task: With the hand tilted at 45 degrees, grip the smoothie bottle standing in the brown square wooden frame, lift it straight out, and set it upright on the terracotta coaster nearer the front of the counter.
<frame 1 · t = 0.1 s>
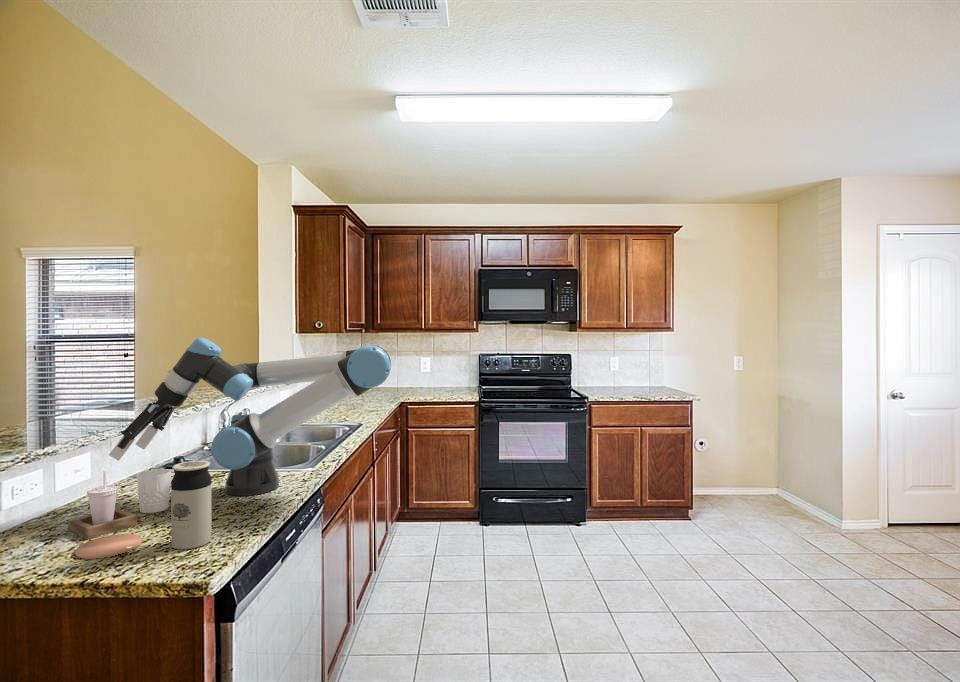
hand: (127, 451, 142), 15 cm above the countertop, tool tilted 35°, fingers open, 13 cm apart
brown square wooden frame: (103, 528, 127), on the countertop
travel mug: (191, 544, 118), on the countertop
white cup: (154, 510, 141), on the countertop
coaster: (109, 547, 115), on the countertop
smoothie: (103, 529, 127), resting in brown square wooden frame
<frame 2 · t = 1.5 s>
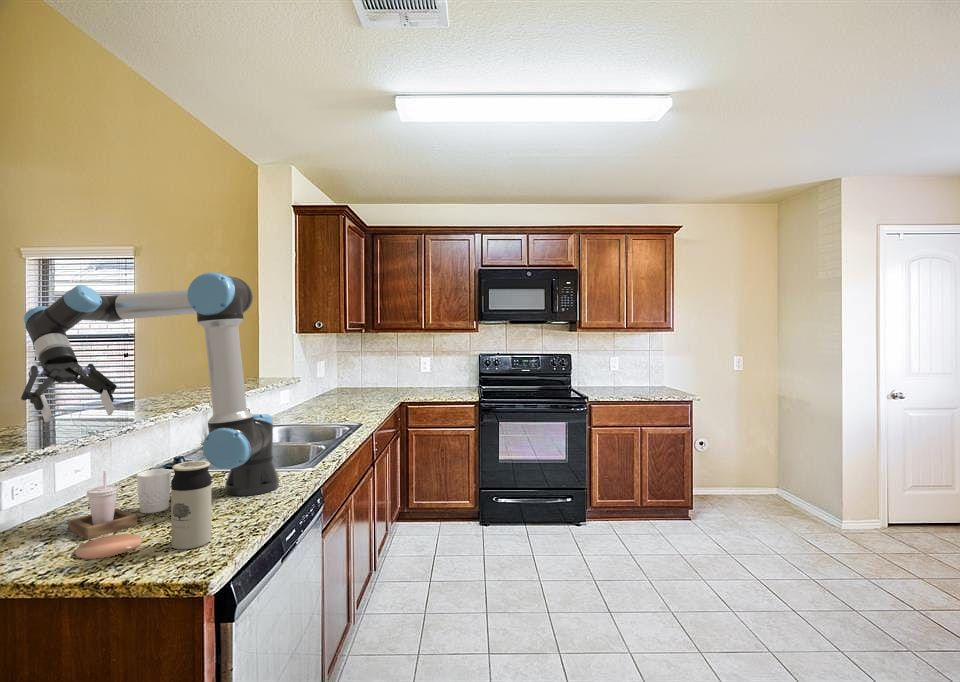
hand: (81, 415, 132), 27 cm above the countertop, tool tilted 45°, fingers open, 13 cm apart
nothing on the countertop moved.
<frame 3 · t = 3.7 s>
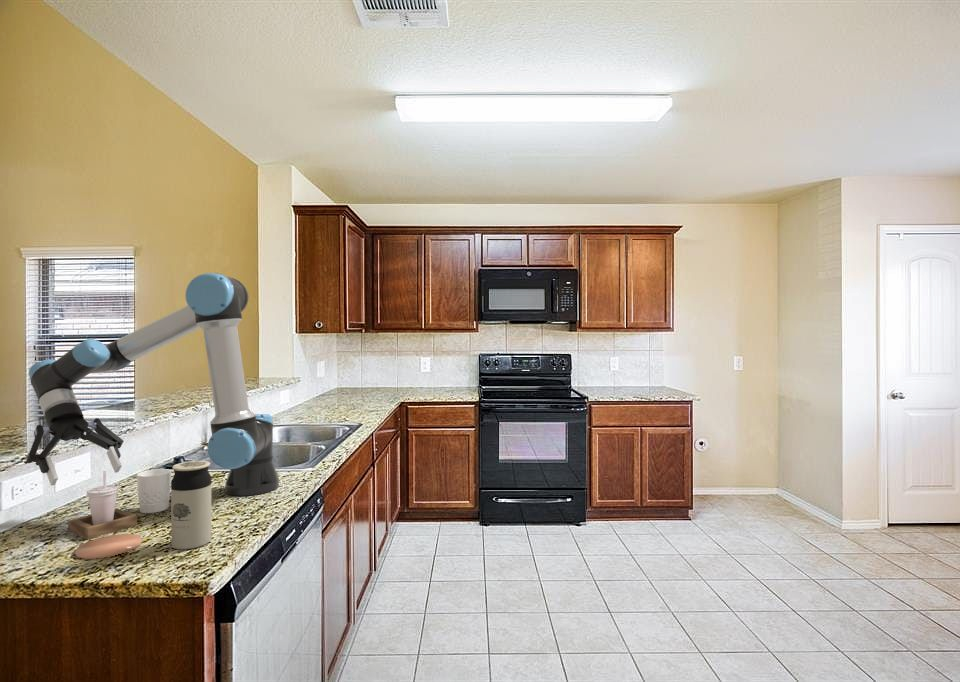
hand: (88, 475, 129), 12 cm above the countertop, tool tilted 45°, fingers open, 13 cm apart
nothing on the countertop moved.
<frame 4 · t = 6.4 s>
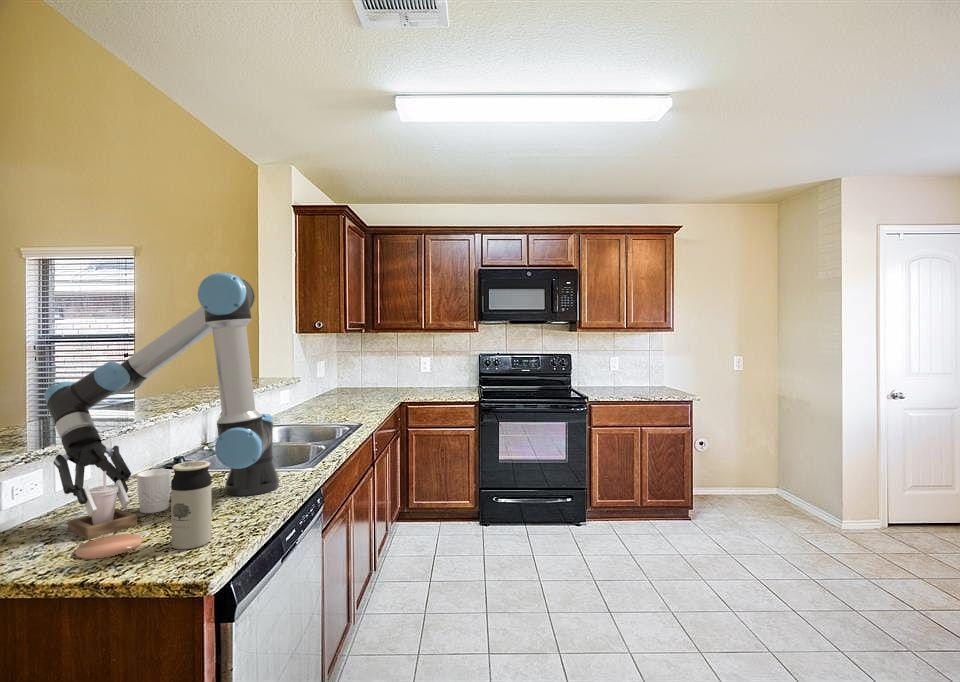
hand: (110, 508, 125), 5 cm above the countertop, tool tilted 45°, fingers closed on smoothie, 6 cm apart
smoothie: (103, 528, 127), resting in brown square wooden frame, touching gripper
everything else where it was.
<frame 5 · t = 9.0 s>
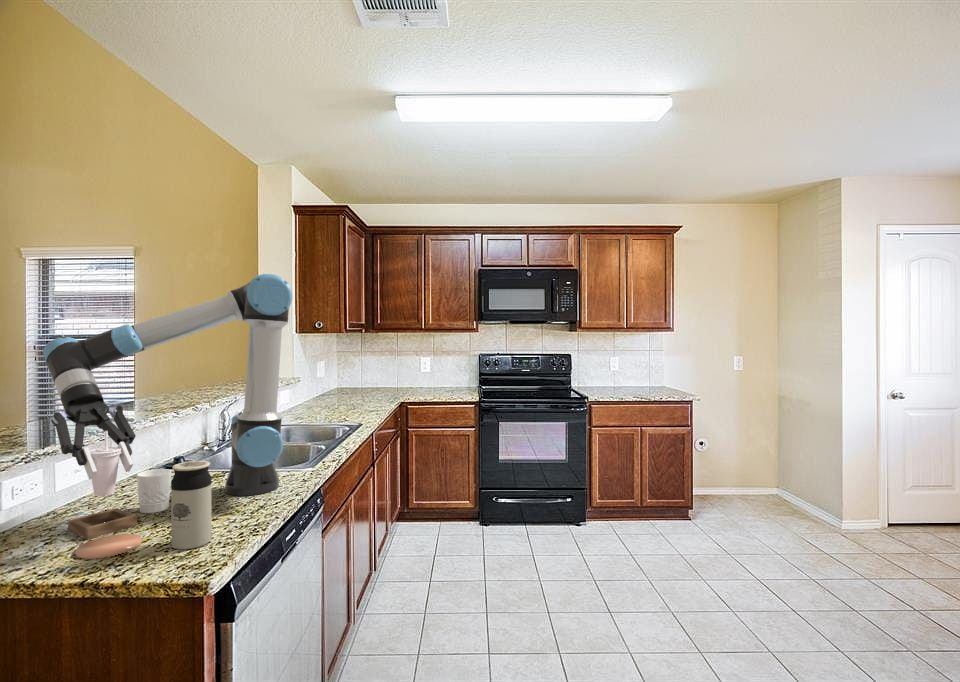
hand: (111, 471, 114), 17 cm above the countertop, tool tilted 45°, fingers closed on smoothie, 6 cm apart
smoothie: (104, 494, 116), point 12 cm above the countertop, touching gripper
everything else where it was.
when the fingers open (8 cm above the countertop, at t = 11.8 s): smoothie drops 1 cm, resting on coaster.
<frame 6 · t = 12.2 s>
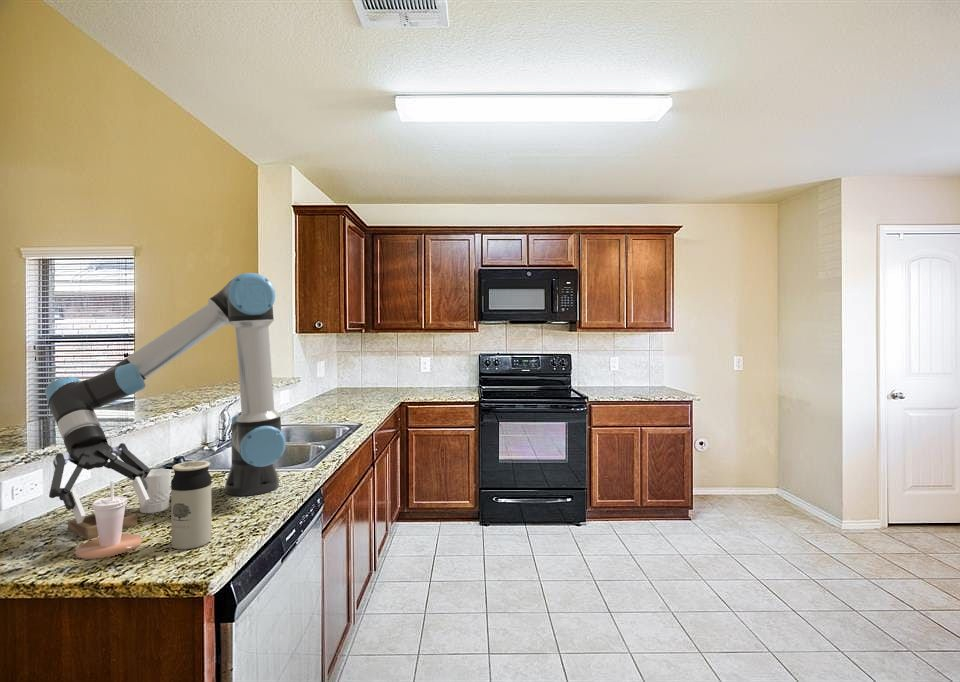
hand: (115, 510, 114), 9 cm above the countertop, tool tilted 45°, fingers open, 12 cm apart
smoothie: (110, 544, 116), point 1 cm above the countertop, touching coaster
everything else where it was.
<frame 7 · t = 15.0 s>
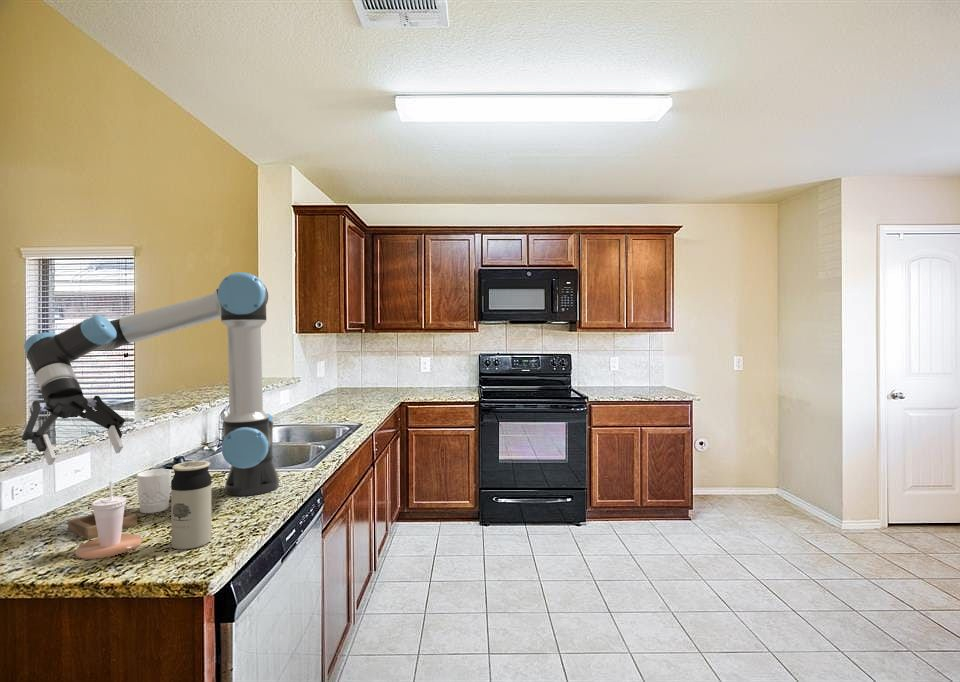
hand: (87, 455, 122), 19 cm above the countertop, tool tilted 45°, fingers open, 13 cm apart
nothing on the countertop moved.
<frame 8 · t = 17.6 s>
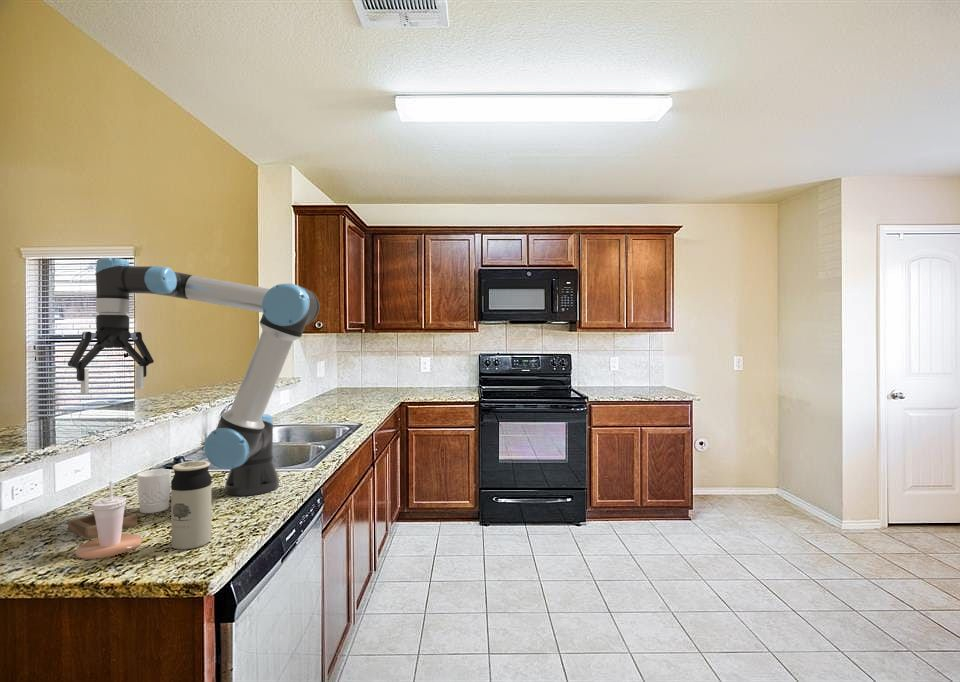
hand: (113, 390, 144), 32 cm above the countertop, tool pointing down, fingers open, 13 cm apart
nothing on the countertop moved.
at the end: smoothie 0.2 cm off-centre on the coaster, point 0.6 cm above the coaster's base; smoothie tilted 1°; the gripper is holding nothing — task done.
